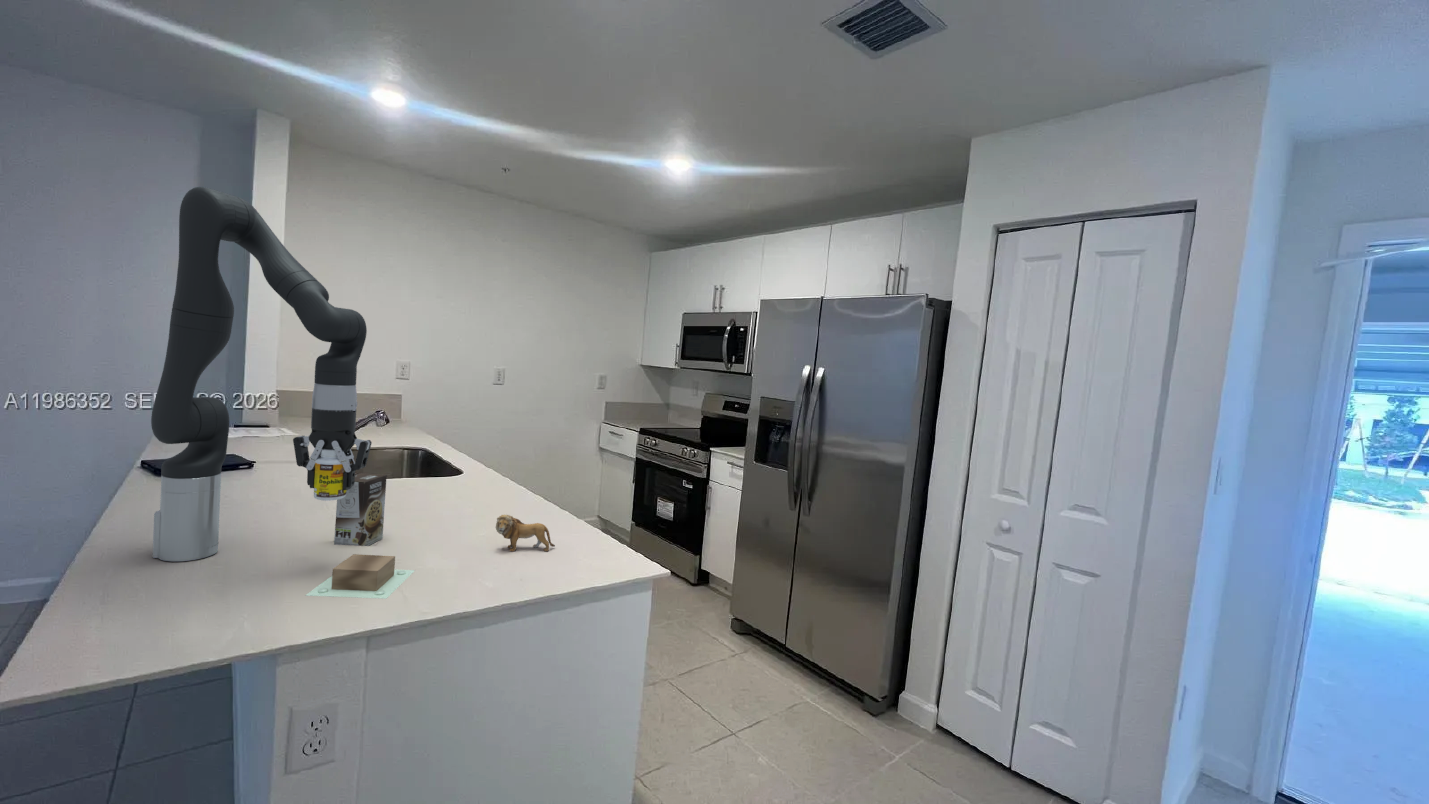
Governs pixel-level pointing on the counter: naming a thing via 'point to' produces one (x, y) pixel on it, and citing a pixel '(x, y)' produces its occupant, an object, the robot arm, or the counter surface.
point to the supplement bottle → (328, 477)
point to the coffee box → (361, 511)
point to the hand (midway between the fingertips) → (330, 488)
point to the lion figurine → (522, 531)
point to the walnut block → (363, 572)
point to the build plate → (382, 592)
